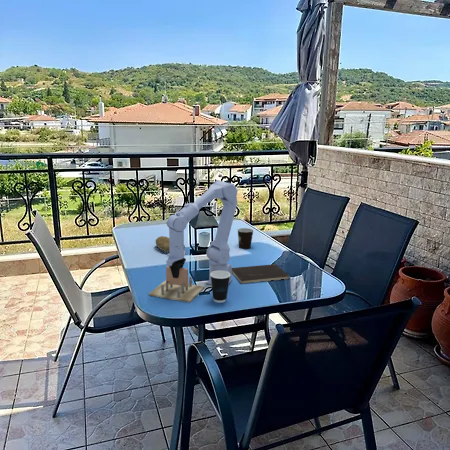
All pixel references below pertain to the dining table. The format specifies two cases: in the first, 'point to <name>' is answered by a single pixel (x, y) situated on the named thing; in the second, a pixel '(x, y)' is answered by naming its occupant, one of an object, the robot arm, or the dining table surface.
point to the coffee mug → (245, 238)
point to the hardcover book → (259, 273)
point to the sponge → (163, 243)
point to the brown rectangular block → (181, 279)
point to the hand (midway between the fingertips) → (176, 276)
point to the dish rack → (177, 291)
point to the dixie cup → (220, 285)
